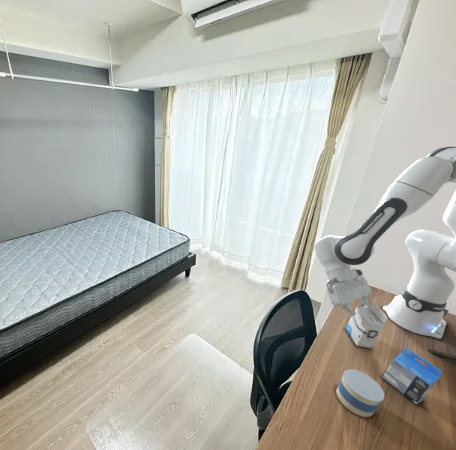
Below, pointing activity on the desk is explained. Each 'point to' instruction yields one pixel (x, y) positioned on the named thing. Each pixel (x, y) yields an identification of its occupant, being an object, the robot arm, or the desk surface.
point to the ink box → (366, 325)
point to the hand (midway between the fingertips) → (360, 312)
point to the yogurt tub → (359, 393)
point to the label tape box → (412, 375)
